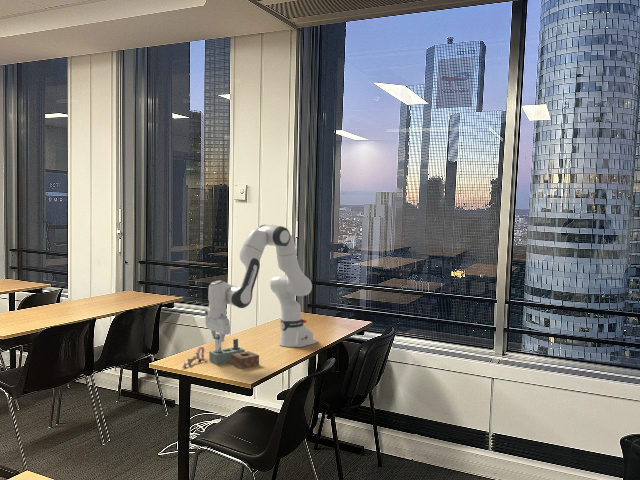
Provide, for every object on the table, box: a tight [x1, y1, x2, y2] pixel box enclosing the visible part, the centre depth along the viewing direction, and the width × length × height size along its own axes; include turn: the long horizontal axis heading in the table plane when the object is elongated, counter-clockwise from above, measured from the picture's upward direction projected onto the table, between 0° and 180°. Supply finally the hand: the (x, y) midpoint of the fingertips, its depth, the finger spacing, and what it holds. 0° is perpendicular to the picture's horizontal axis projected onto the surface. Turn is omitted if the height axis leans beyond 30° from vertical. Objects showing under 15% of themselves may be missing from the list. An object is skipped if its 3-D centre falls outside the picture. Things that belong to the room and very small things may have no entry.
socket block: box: [230, 350, 260, 370], centre depth 269 cm, size 10×10×5 cm
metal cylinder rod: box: [214, 333, 222, 354], centre depth 275 cm, size 3×3×14 cm
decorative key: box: [182, 346, 205, 369], centre depth 272 cm, size 7×1×20 cm
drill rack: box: [208, 346, 246, 366], centre depth 278 cm, size 16×8×5 cm, turn 128°
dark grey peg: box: [232, 338, 239, 350], centre depth 281 cm, size 2×2×10 cm
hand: (218, 340), depth 274 cm, fingers open, 6 cm apart
